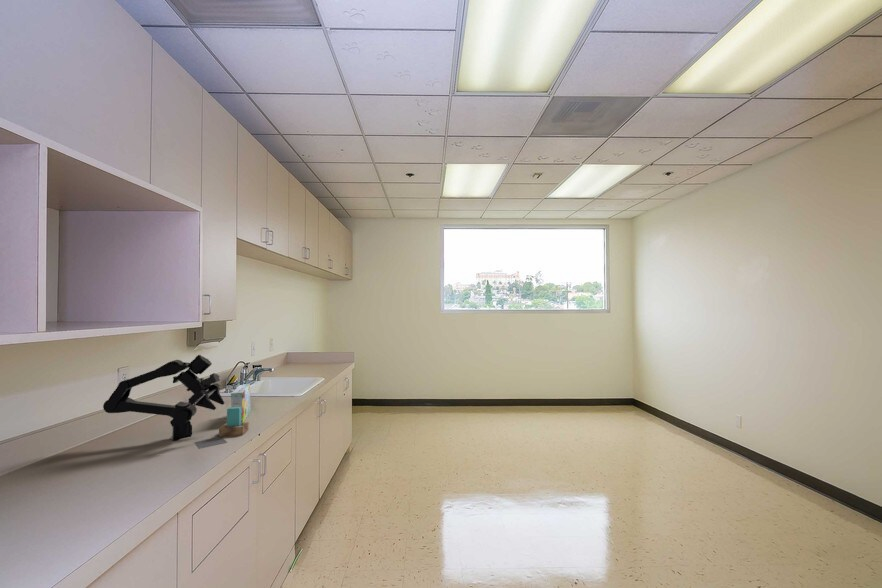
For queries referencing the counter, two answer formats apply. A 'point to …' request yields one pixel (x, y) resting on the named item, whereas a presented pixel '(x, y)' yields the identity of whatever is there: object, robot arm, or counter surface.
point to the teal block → (233, 416)
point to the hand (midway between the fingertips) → (219, 406)
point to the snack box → (241, 400)
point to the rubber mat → (210, 442)
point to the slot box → (234, 430)
